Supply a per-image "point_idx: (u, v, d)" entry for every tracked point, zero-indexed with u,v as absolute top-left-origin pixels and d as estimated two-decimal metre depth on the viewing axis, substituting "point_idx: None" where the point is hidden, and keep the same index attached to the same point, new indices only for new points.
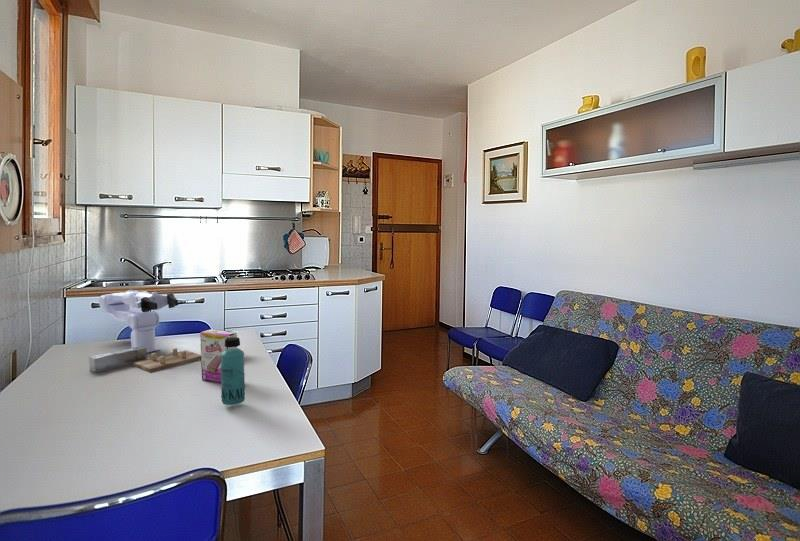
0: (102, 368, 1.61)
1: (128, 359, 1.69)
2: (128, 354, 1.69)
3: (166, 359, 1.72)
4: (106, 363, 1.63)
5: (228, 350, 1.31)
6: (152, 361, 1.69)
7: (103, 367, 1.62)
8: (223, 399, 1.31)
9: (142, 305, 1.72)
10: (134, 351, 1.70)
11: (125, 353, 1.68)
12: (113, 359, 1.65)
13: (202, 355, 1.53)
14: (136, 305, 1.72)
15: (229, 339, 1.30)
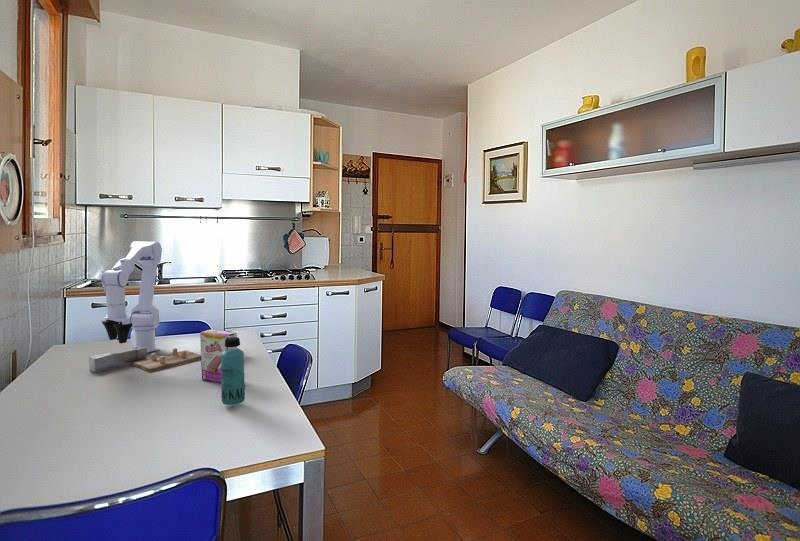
0: (102, 368, 1.61)
1: (128, 359, 1.69)
2: (128, 354, 1.69)
3: (166, 359, 1.72)
4: (106, 363, 1.63)
5: (228, 350, 1.31)
6: (152, 361, 1.69)
7: (103, 367, 1.62)
8: (223, 399, 1.31)
9: None
10: (134, 351, 1.70)
11: (125, 353, 1.68)
12: (113, 359, 1.65)
13: (202, 355, 1.53)
14: None
15: (229, 339, 1.30)
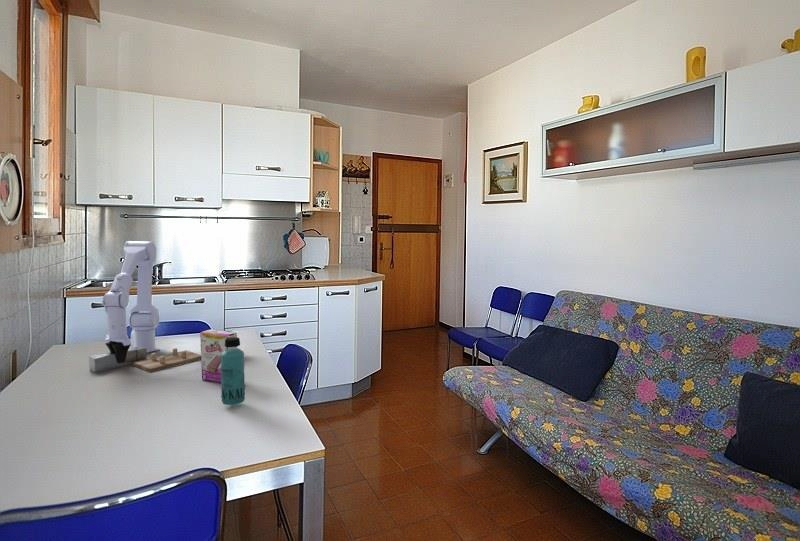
0: (102, 368, 1.61)
1: (128, 359, 1.69)
2: (128, 354, 1.69)
3: (166, 359, 1.72)
4: (106, 363, 1.63)
5: (228, 350, 1.31)
6: (152, 361, 1.69)
7: (103, 367, 1.62)
8: (223, 399, 1.31)
9: None
10: (134, 351, 1.70)
11: None
12: (113, 359, 1.65)
13: (202, 355, 1.53)
14: None
15: (229, 339, 1.30)
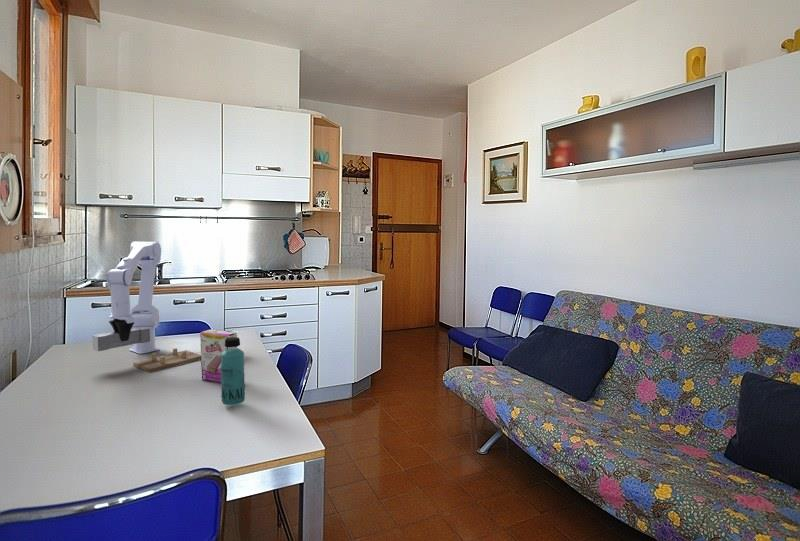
0: (105, 347, 1.61)
1: (131, 339, 1.68)
2: (132, 334, 1.68)
3: (166, 359, 1.72)
4: (109, 342, 1.63)
5: (228, 350, 1.31)
6: (152, 361, 1.69)
7: (106, 346, 1.61)
8: (223, 399, 1.31)
9: None
10: (137, 331, 1.70)
11: None
12: (116, 338, 1.64)
13: (202, 355, 1.53)
14: None
15: (229, 339, 1.30)
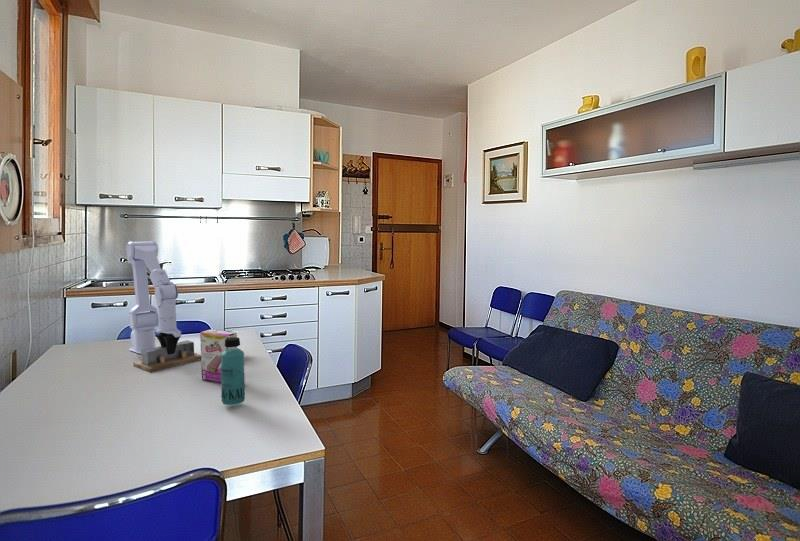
0: (154, 361, 1.66)
1: (177, 353, 1.73)
2: (177, 348, 1.73)
3: None
4: (157, 356, 1.67)
5: (228, 350, 1.31)
6: None
7: (155, 360, 1.66)
8: (223, 399, 1.31)
9: None
10: (182, 345, 1.75)
11: None
12: (164, 353, 1.69)
13: (202, 355, 1.53)
14: None
15: (229, 339, 1.30)
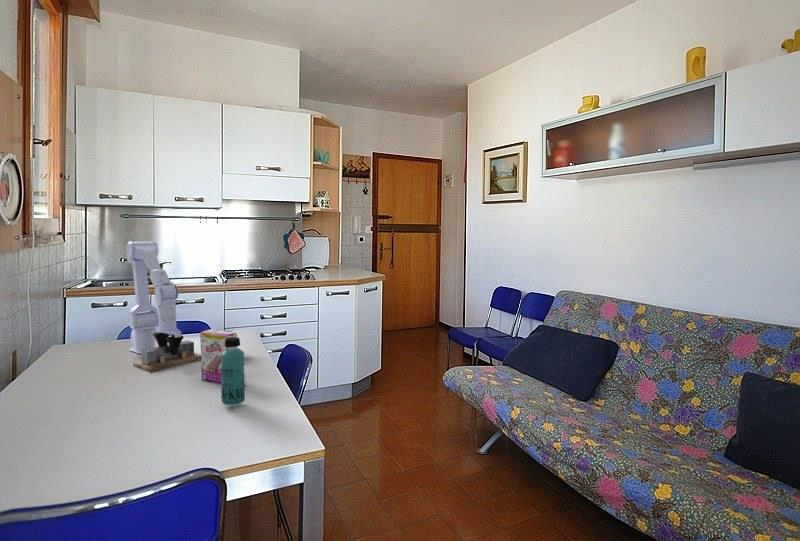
0: (154, 361, 1.66)
1: None
2: None
3: None
4: (157, 356, 1.67)
5: (228, 350, 1.31)
6: None
7: (155, 360, 1.66)
8: (223, 399, 1.31)
9: None
10: (182, 345, 1.75)
11: None
12: (164, 353, 1.69)
13: (202, 355, 1.53)
14: None
15: (229, 339, 1.30)
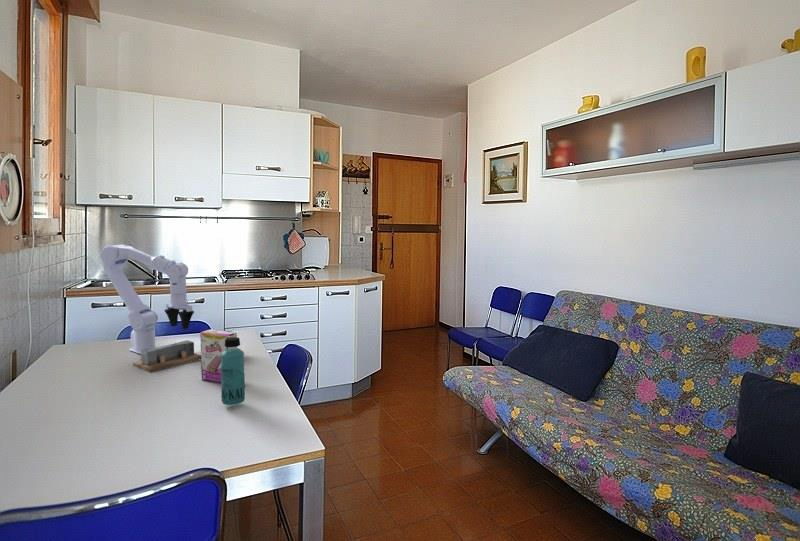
0: (154, 361, 1.66)
1: (177, 353, 1.73)
2: (177, 348, 1.73)
3: None
4: (157, 356, 1.67)
5: (228, 350, 1.31)
6: None
7: (155, 360, 1.66)
8: (223, 399, 1.31)
9: None
10: (182, 345, 1.75)
11: (174, 347, 1.72)
12: (164, 353, 1.69)
13: (202, 355, 1.53)
14: None
15: (229, 339, 1.30)
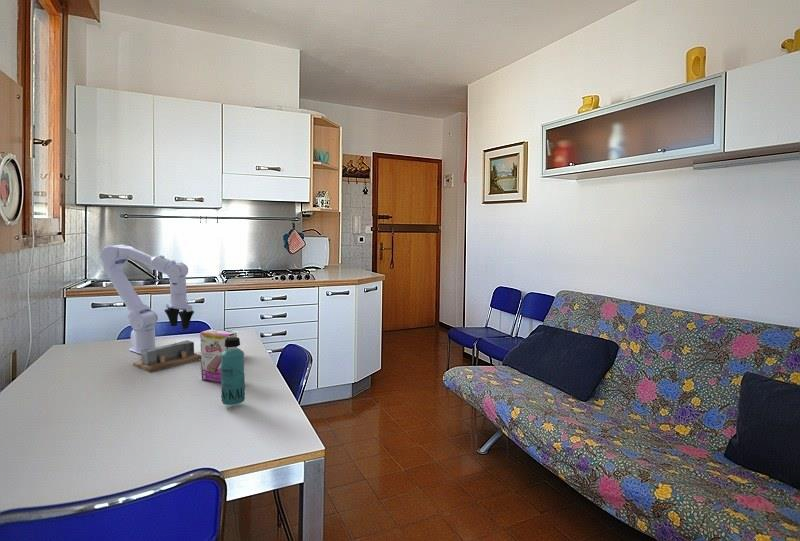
0: (154, 361, 1.66)
1: (177, 353, 1.73)
2: (177, 348, 1.73)
3: None
4: (157, 356, 1.67)
5: (228, 350, 1.31)
6: None
7: (155, 360, 1.66)
8: (223, 399, 1.31)
9: None
10: (182, 345, 1.75)
11: (174, 347, 1.72)
12: (164, 353, 1.69)
13: (202, 355, 1.53)
14: None
15: (229, 339, 1.30)
